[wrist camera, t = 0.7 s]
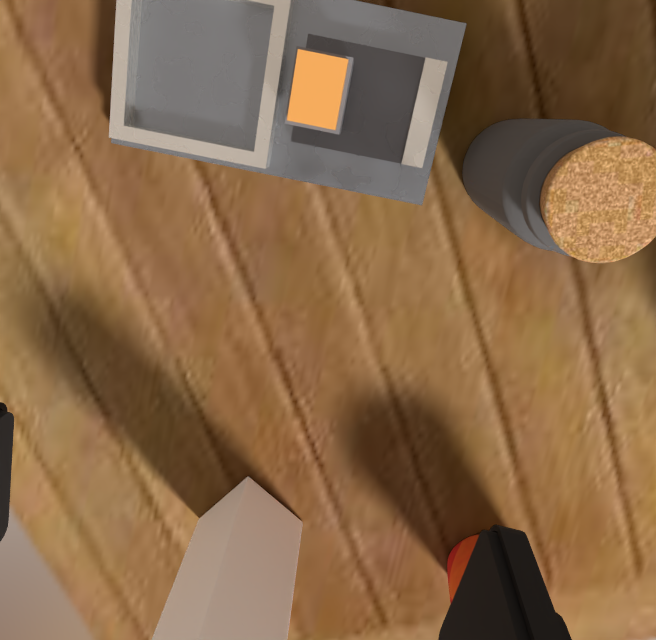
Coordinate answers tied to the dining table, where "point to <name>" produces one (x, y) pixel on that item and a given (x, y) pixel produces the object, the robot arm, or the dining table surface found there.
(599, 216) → the bottle
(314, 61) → the toggle
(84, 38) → the dining table surface
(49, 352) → the dining table surface
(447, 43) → the panel
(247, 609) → the milk
